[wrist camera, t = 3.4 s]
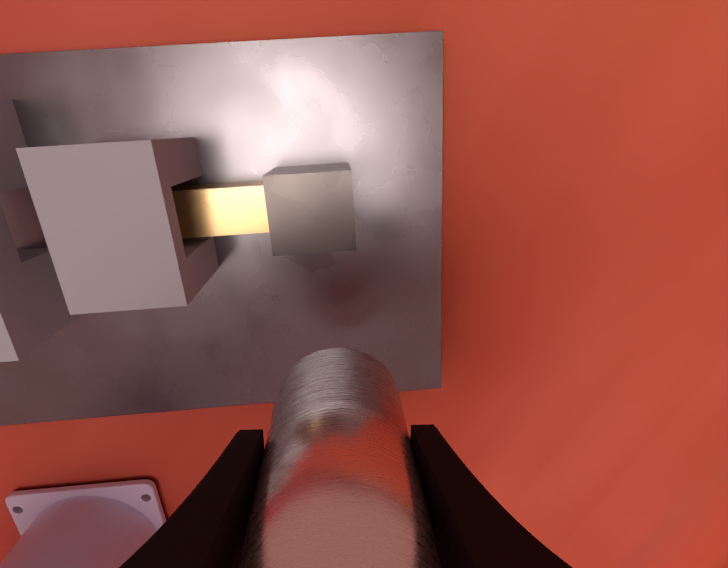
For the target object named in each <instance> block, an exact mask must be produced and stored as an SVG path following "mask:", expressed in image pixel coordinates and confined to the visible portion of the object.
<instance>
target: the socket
mask: <svg viewBox="0 0 728 568" xmlns="http://www.w3.org/2000/svg"><path fill="white" fill-rule="evenodd" d="M26 147H27V145H26V142H25V138H24V135H23V132H22V129H21V126H20V123H19V120H18V116H17V113H16V110H15V107H14V104H13V101H12V99H7V98H0V192H5V191H10V190H15V189H20V188H26V187H28V185H27V182H26V179H25V176H24V173H23V170H22V167H21V164H20V160H19V157H18V154H17V151H16V148H26ZM79 316H80V314H75V315H70V313H69V310H68V307H67V304H66V301H65V298H64V295H63V292H62V289H61V286H60V283H59V280H58V277H57V274H56V271H55V267H54V264H53V261H52V258H51V255H50V252H49V249H48V248H37V249H22V250H17V249H16V246H15V243H14V240H13V237H12V235H11V232H10V229H9V226H8V223H7V220H6V218H5V215H4V212H3V209H2V206H1V203H0V362H8V361H19V360H20V359H22V358H23V357H25V356H26V355H27V354H29V353H30V352H31V351H33V350H34V349H35V348H37V347H38V346H40V345H41V344H42V343H44V342H45V341H46V340H48V339H49V338H50V337H52V336H53V335H55V334H56V333H57V332H59V331H60V330H61V329H63V328H64V327H65V326H67V325H68V324H69V323H71V322H72V321H74V320H75V319H76V318H78V317H79Z"/></svg>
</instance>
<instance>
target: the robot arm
mask: <svg viewBox="0 0 728 568" xmlns="http://www.w3.org/2000/svg"><path fill="white" fill-rule="evenodd" d="M410 441H411V445H412V449H413V453H414V457H415V461H416V465H417V469H418V473H419V477H420V482H421V486H422V490H423V494H424V498H425V502H426V506H427V510H428V514H429V518H430V522H431V526H432V530H433V534H434V538H435V542H436V547H437V551H438V555H439V559H440V563H441V567H442V568H572V567H571V566H569V565H568V564H567V563H566V562H564V561H563V560H562V559H560V558H559V557H558V556H557V555H555V554H554V553H553V552H551V551H550V550H549V549H548V548H547V547H545V546H544V545H543V544H542V543H541V542H540V541H538V540H537V539H536V538H535V537H534V536H533V535H532V534H531V533H529V532H528V531H527V530H526V529H525V528H524V527H523V526H522V525H521V524H520V523H519V522H517V521H516V520H515V519H514V518H513V517H512V516H511V515H510V514H509V513H508V512H507V511H506V510H505V509H504V508H503V507H502V506H501V505H500V504H499V502H498V501H497V500H496V499H495V498H494V497H493V496H492V495H491V494H490V493H489V492H488V491H487V490H486V489H485V488H484V486H483V485H482V484H481V483H480V482H479V481H478V480H477V478H476V477H475V476H474V475H473V474H472V473H471V471H470V470H469V469H468V468H467V467H466V466H465V464H464V463H463V462H462V461H461V459H460V458H459V457H458V456H457V454H456V453H455V452H454V451H453V449H452V448H451V447H450V445H449V444H448V443H447V441H446V440H445V439H444V437H443V436H442V435H441V433H440V432H439V431H438V429H437V428H436V427H435V426H434V425H411V437H410ZM263 454H264V439H263V429H262V430H240V431H239V432H237V433H236V435H235V436H234V438H233V439H232V440H231V442H230V443H229V445H228V446H227V447H226V449H225V450H224V452H223V453H222V454H221V456H220V457H219V458H218V460H217V461H216V462H215V464H214V465H213V466H212V468H211V469H210V470H209V471H208V473H207V474H206V475H205V476H204V478H203V479H202V480H201V481H200V483H199V484H198V485H197V486H196V488H195V489H194V490H193V491H192V492H191V494H190V495H189V496H188V497H187V498H186V499H185V500H184V502H183V503H182V504H181V505H180V506H179V507H178V508H177V509H176V511H175V512H174V513H173V514H172V515H171V516H170V517H169V518H168V520H167V521H166V519H165V515H164V512H163V508H162V505H161V502H160V498H159V495H158V491H157V488H156V485H155V483H154V482H153V481H151V480H148V479H142V480H131V481H120V482H110V483H99V484H88V485H77V486H66V487H55V488H44V489H33V490H22V491H14V492H12V493H11V494H10V495H9V496H8V497H7V498H6V500H5V502H6V505H7V507H8V509H9V511H10V514H11V516H12V518H13V520H14V522H15V524H16V527H17V529H18V531H19V533H20V535H21V537H20V538H19V540H18V541H17V542H16V544H15V545H14V546H13V548H12V549H11V550H10V551H9V553H8V554H7V555H6V557H5V558H4V559H3V561H2V562H1V563H0V568H238V566H239V561H240V557H241V552H242V548H243V543H244V539H245V535H246V530H247V526H248V521H249V517H250V512H251V508H252V503H253V499H254V494H255V490H256V485H257V481H258V476H259V472H260V467H261V463H262V458H263ZM146 494H147V495H149V496H147V495H146Z"/></svg>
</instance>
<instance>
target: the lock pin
mask: <svg viewBox="0 0 728 568" xmlns="http://www.w3.org/2000/svg"><path fill="white" fill-rule="evenodd" d="M171 190H172V194H173V199H174V204H175V208H176V213H177V218H178V223H179V227H180V232H181V237H182V238H196V237H210V236H224V235H238V234H252V233H266V232H270V239H271V246H272V254H273V256H284V255H298V254H311V253H325V252H339V251H353V250H357V249H356V234H355V219H354V204H353V189H352V174H351V168H350V165H349V163H348V162H346V163H331V164H315V165H300V166H284V167H275V168H273V169H272V170H270V171H269V172H267V173H266V174H264V175H263V176H262V181H246V182H231V183H216V184H201V185H186V186H171Z"/></svg>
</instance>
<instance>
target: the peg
mask: <svg viewBox="0 0 728 568" xmlns="http://www.w3.org/2000/svg"><path fill="white" fill-rule="evenodd" d="M238 568H442V567H441V563H440V559H439V555H438V551H437V547H436V542H435V538H434V534H433V530H432V526H431V522H430V518H429V514H428V510H427V506H426V502H425V498H424V494H423V490H422V486H421V482H420V477H419V473H418V469H417V465H416V461H415V457H414V453H413V449H412V445H411V441H410V437H409V433H408V429H407V425H406V421H405V416H404V412H403V408H402V404H401V400H400V396H399V392H398V388H397V385H396V382H395V380H394V378H393V376H392V374H391V373H390V372H389V370H388V369H387V368H386V367H385V366H384V365H383V364H382V363H381V362H380V361H378V360H377V359H376V358H374V357H372V356H371V355H369V354H366V353H364V352H361V351H358V350H354V349H348V348H330V349H324V350H320V351H317V352H314V353H312V354H309V355H307V356H305V357H304V358H302V359H300V360H299V361H298V362H296V363H295V364H294V365H293V366H292V367H291V368H290V369H289V370H288V371H287V372H286V374H285V375H284V377H283V379H282V381H281V382H280V385H279V388H278V391H277V396H276V400H275V405H274V409H273V414H272V418H271V423H270V427H269V432H268V436H267V440H266V445H265V449H264V454H263V458H262V463H261V467H260V472H259V476H258V481H257V485H256V490H255V494H254V499H253V503H252V508H251V512H250V517H249V521H248V526H247V530H246V535H245V539H244V543H243V548H242V552H241V557H240V561H239V566H238Z"/></svg>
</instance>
